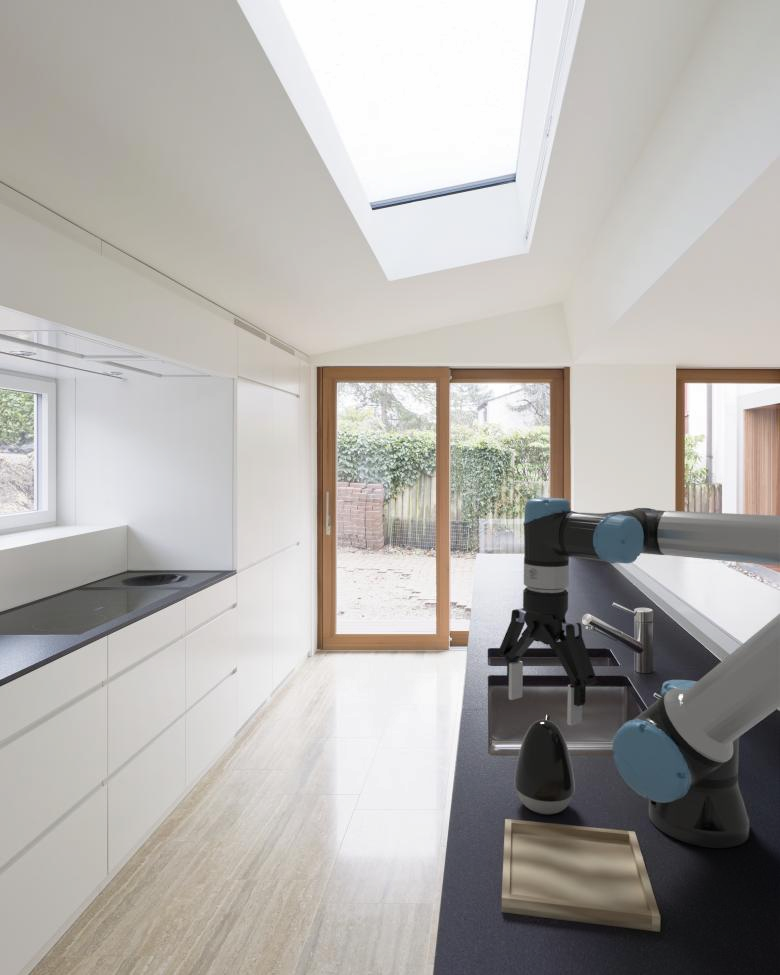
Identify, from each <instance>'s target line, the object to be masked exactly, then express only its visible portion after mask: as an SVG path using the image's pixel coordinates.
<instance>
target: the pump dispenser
mask: <svg viewBox="0 0 780 975" xmlns="http://www.w3.org/2000/svg"><path fill="white" fill-rule="evenodd" d="M574 775H575V774H574V769H573V763H572V758H571V755H570V750H569V747H568V744H567V741H566V739H565V737H564V734H563V732H562V731H561V729H560V728H559V726H558V725H557V724H556V723H555V722H554V721H551V716H550V715H549V714H545V715H544V717H543V719H538V720H536V721H534V722H533V723H532V724H531V725H530V726H529V728H528V729H527V731H526V733H525V735H524V737H523V740H522V742H521V745H520V748H519V752H518V756H517V760H516V766H515V771H514V778H513V780H514V782H513V784H514V787H515V789H516V793H517V795H518V798H519V800H520V801H521V803H522V804H523V805H524V806H525V807H526V808H528V809H529V810H530V811H532V812H534V813H537V814H541V815H554V814H558V813H560V812H563V811H564V810H565V809H566V808H567V807H568V806H569V805H570V803H571V800H572V799H573V798H572V797H573V795H574V794H575V792H576V786H575V785H576V784H575V776H574Z"/></svg>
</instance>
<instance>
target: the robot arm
mask: <svg viewBox="0 0 780 975" xmlns="http://www.w3.org/2000/svg"><path fill="white" fill-rule="evenodd" d="M571 509H572V508H571V502H570V501H569V499H566V498H561V497H559V498H557V497H534V498H533V497H532V498H529V499H528V500H527V501H526V502H525V508H524V520H523V523H522V524H523V530H524V531H523V534H524V537H523V542H524V544H523V546H524V548H523V549H524V551H523V553H524V557H523V585H524V586H525V588H523V590H522V591H523V592H522V593H523V594H522V595H523V596H522V597H523V598H522V607H521V608H516V609H513V610H511V614H510V615H511V617H510V623H509V624H508V627H507V630H506V632H505V635H504V637H503V639H502V641H501V644H500V646H499V649H498V655H499V656H500V657H503V658H504V659H505V661H506V677H507V679H508V700H510V701H513V700H517V699H520V698H523V681H524V680H523V678H524V677H523V675H524V662H523V661H521V660H522V656H523V655H524V654H525V652H526V651H527V650H528V649H529V647H531V645H532V644H533V643H534V642H538V643H539V642H541V643H542V644H544V645H549V646H550V649H551V650H554V652H555V654H556V656H557V657H558V660H559V662H560V663H561V666H562V667H563V670H564V671H565V673H566V675H567V677H568V678H569V680H570V682H571V683H570V684H568V685H567V706H566V707H567V708H566V709H567V710H566V712H567V714H566V716H567V717H566V719H567V720H566V721H567V722H566V725H568V726H575V725H577V724H580V723H582V722H583V706H584V705H586V694H587V693H586V687H587V686H590V685H594V684H597V683H598V682H597V676H596V673H595V671H594V668H593V665H592V661H591V657H590V656H589V653H588V650H587V646H586V644H585V640H584V638H583V633H582V632H583V630H582V624H581V623H580V622H574V623H569V622H567V621H566V614H567V612H568V610H569V592H568V590H567V588H568V587H569V585H570V584H569V583H570V581H569V579H570V578H569V577H570V576H569V575H570V572H569V571H570V570H569V569H570V566H569V563H570V558H578V559H579V558H580V559H585V560H593V561H600V562H606V563H608V564H631V563H634V562H635V561H636V560H637V559H638V557H639V556H641V554H647V555H656V556H657V555H658V556H672V557H681V558H682V557H683V558H693V559H694V558H695V559H703V560H713V561H721V562H734V563H746V564H752V565H753V564H755V565H762V566H763V565H764V566H765V565H766V566H774V567H776V566H777V567H780V515H770V514H769V515H768V514H749V513H748V514H745V513H728V512H727V513H726V512H724V513H723V512H706V511H704V512H703V511H685V510H683V511H681V510H680V511H679V510H660V509H659V510H657V509H654V508H651V507H650V508H648V507H636V508H634V509H628V510H620V511H612V512H601V513H596V512H577V511H573V510H571ZM525 625H526V628H525V629H524V626H525ZM523 629H524V630H523ZM522 631H523V632H522ZM660 695H661V696H660V698H658V699H656V701H655V702H653V703H652V704H651V705H650V706H648V708H646V709H644V711H643V712H641V713H640V714H639V715H638V716H636V717H635V718H633V719H630V720H628V721H626V722H625V723H623V724H622V726H620V728H619V729H618V730H617V731H616V733H615V735H614V738H613V742H612V752H613V760H614V764H615V766H616V768H617V771H618V772H619V775H620V776H621V777H622V779H623V780H624V782H625V783H626V784H627V786H629V787H630V788H631V789H632V790H633V791H634V792H635V793H636V794H638V795H639V796H641V797H643V798H644V799H648V817H649V820H650V821H651V822H652V824H653V825H654V826H655V827H656V828H657V829H658V830H660V831H661V832H662V833H664V834H665V835H667V836H669V837H671V838H673V839H675V840H678V841H679V842H683V843H686V844H690V845H693V846H698V847H703V848H712V849H725V848H726V849H728V848H735V847H738V846H740V845H743V844H744V843H745V842H746V841H747V840H748V838H749V837H750V818H749V814H748V813H747V810H746V805H745V802H744V799H743V797H742V793H741V790H740V787H739V753H740V751H739V750H740V749H739V748H740V737H741V736H742V735H744V734H745V733H746V732H748V731H749V730H750V729H752V728H753V727H754V726H756V725H757V724H758V723H760V722H761V721H762V720H764V719H765V718H767V717H768V716H769V715H771V714H772V713H773V712H775V711H776V710H778V709H779V708H780V613H778V614H777V615H776V616H775V617H774V618H772V619H771V620H770V621H769V622H767V623H766V624H764V626H763V627H762V628H760V629H759V630H758V631H756V632H755V633H754V634H753V635H752V636H750V637H749V638H748V639H747V640H746V641H745V642H744V643H742V644H741V645H740V646H739V647H737V648H736V649H735V650H734V651H733V652H732V653H730V654H729V655H727V657H725V658H724V659H723V660H722V661H721V662H719V663H718V664H716V665H715V667H713V668H712V669H711V670H709V672H707V673H706V674H705V675H703V676H702V677H701V678H700V679H699V680H697V681H695V680H689V679H688V680H687V679H670V680H666V681H664V682H663V683H662V686H661V691H660Z"/></svg>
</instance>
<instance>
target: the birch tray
mask: <svg viewBox="0 0 780 975" xmlns="http://www.w3.org/2000/svg"><path fill="white" fill-rule="evenodd" d="M503 837H504V839H503V840H504V841H503V842H504V843H503V857H502V859H503V863H502V864H503V865H502V881H501V882H502V884H501V913H506V914H512V915H513V914H514V915H522V916H529V917H531V916H532V917H538V918H546V919H553V920H561V921H571V922H577V923H585V924H593V925H600V926H601V925H602V926H603V925H604V926H611V927H616V928H617V927H619V928H626V929H634V930H643V931H648V932H649V931H650V932H656V933H657V932H658V933H660V932H661V914H660V911H659V907H658V905H657V901H656V898H655V894H654V891H653V888H652V884H651V880H650V877H649V874H648V871H647V868H646V865H645V861H644V857H643V854H642V851H641V848H640V844H639V841H638V838H637V835H636V832H635V831H632V830H631V831H630V830H623V829H620V830H619V829H611V828H600V827H599V828H598V827H594V826H593V827H590V826H581V825H569V824H562V823H561V824H560V823H553V822H552V823H550V822H539V821H531V820H520V819H513V818H512V819H509V818H505V819H504V836H503Z"/></svg>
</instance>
